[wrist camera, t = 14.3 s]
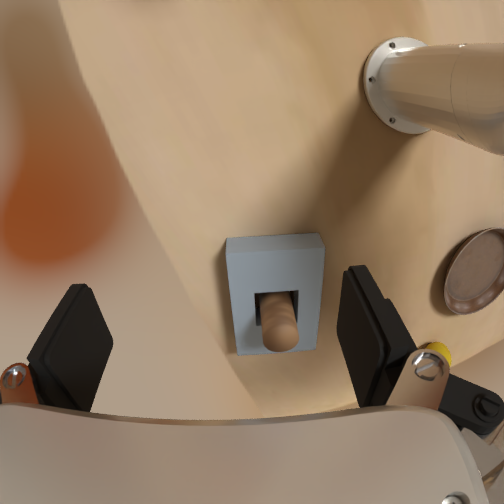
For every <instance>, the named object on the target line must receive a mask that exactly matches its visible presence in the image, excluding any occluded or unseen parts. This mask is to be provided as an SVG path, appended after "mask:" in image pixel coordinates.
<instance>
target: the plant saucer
mask: <svg viewBox="0 0 504 504" xmlns="http://www.w3.org/2000/svg"><path fill="white" fill-rule="evenodd" d="M503 290H504V228H501V227H495V228H489V229H485V230H482V231H480V232H478V233H476V234H474V235H473V236H471V237H470V238H468V239H467V240H466V241H465V242H464V243H463V244H462V245H461V246H460V248H459V249H458V250H457V252H456V253H455V255H454V256H453V258H452V260H451V262H450V264H449V267H448V269H447V273H446V277H445V283H444V299H445V302H446V305H447V307H448V308H449V309H450V310H451V311H452V312H454V313H456V314H460V315H467V314H472V313H475V312H477V311H480V310H481V309H483V308H485V307H486V306H488V305H489V304H490V303H492V302H493V301H494V300H495V299H496V298H497V297H498V296H499V295H500V293H501V292H502V291H503Z"/></svg>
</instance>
